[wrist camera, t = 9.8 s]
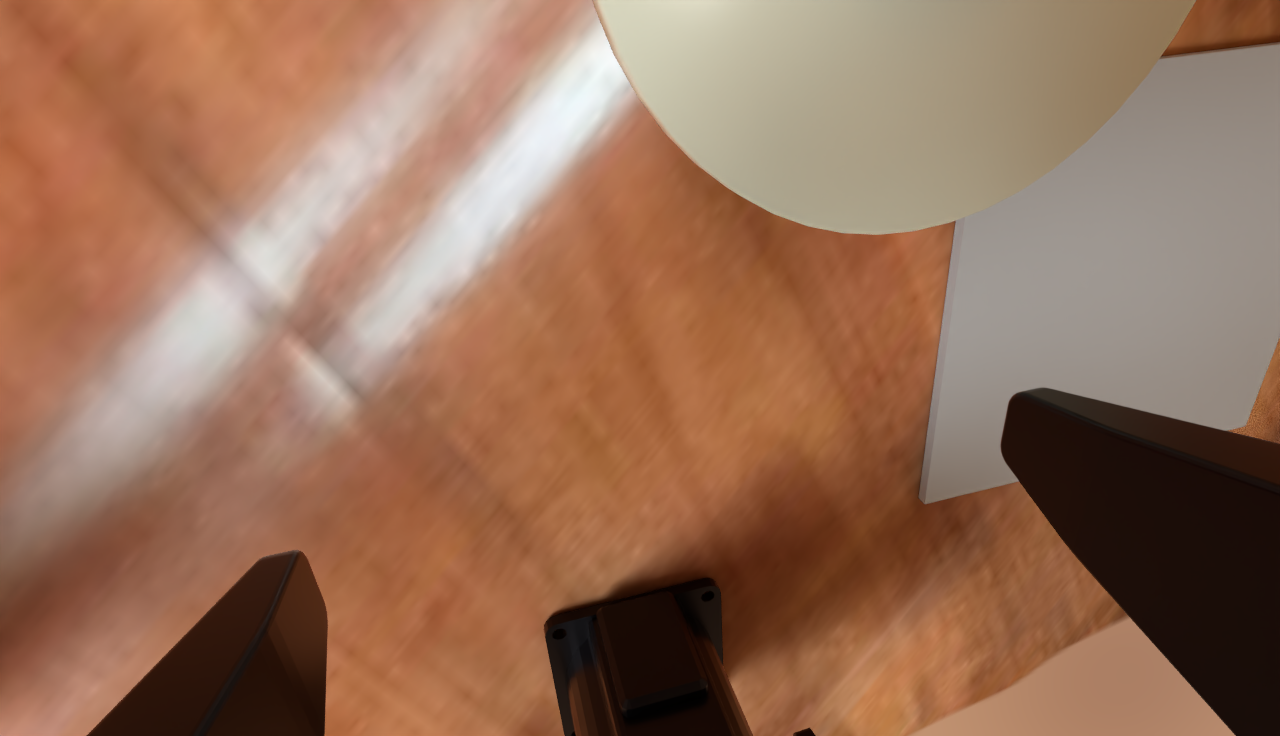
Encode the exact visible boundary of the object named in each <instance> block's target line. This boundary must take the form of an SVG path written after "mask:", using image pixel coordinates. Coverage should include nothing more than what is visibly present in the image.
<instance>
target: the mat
mask: <svg viewBox="0 0 1280 736" xmlns="http://www.w3.org/2000/svg"><path fill="white" fill-rule="evenodd" d="M1279 338H1280V42H1276V43H1268V44H1260V45H1252V46H1244V47H1235V48H1227V49H1219V50H1211V51H1203V52H1195V53H1187V54H1178V55H1170V56H1162V57H1160V58H1159V60H1158V61H1157V63H1156V64H1155V65H1154V67H1153V68H1152V70H1151V71H1150V72H1149V74H1148V75H1147V77H1146V78H1145V79H1144V80H1143V81H1142V83H1141V84H1140V85H1139V86H1138V87H1137V88H1136V90H1135V91H1134V92H1133V93H1132V94H1131V96H1130V97H1129V98H1128V99H1127V100H1126V101H1125V103H1124V104H1123V105H1122V106H1121V107H1120V109H1119V110H1118V111H1117V112H1116V113H1115V114H1114V115H1113V116H1112V117H1111V118H1110V119H1109V120H1108V121H1107V122H1106V123H1105V124H1104V125H1103V126H1102V127H1101V128H1100V129H1099V130H1098V131H1097V132H1096V133H1095V134H1094V135H1093V136H1092V137H1091V138H1090V139H1089V140H1088V141H1087V142H1086V143H1085V144H1083V145H1082V146H1081V147H1080V148H1078V149H1077V150H1076V151H1075V152H1074V153H1072V154H1071V155H1070V156H1069V157H1067V158H1066V159H1065V160H1064V161H1063V162H1061V163H1060V164H1059V165H1058V166H1057V167H1055V168H1054V169H1053V170H1051V171H1050V172H1048V173H1047V174H1045V175H1044V176H1042V177H1041V178H1039V179H1038V180H1036V181H1035V182H1033V183H1032V184H1030V185H1029V186H1027V187H1026V188H1024V189H1023V190H1021V191H1020V192H1018V193H1016V194H1014V195H1012V196H1010V197H1008V198H1006V199H1004V200H1002V201H1000V202H998V203H996V204H995V205H993V206H991V207H989V208H987V209H985V210H982V211H979V212H977V213H974V214H972V215H969V216H966V217H964V218H961V219H958V220H956V224H955V231H954V239H953V246H952V253H951V261H950V268H949V276H948V283H947V290H946V298H945V305H944V313H943V320H942V327H941V335H940V342H939V350H938V357H937V364H936V372H935V379H934V387H933V394H932V401H931V409H930V416H929V424H928V431H927V438H926V446H925V453H924V461H923V468H922V475H921V483H920V490H919V499H920V500H921V501H922V502H923V503H924V504H928V503H932V502H936V501H941V500H945V499H949V498H953V497H957V496H961V495H965V494H969V493H973V492H977V491H982V490H986V489H990V488H994V487H998V486H1002V485H1006V484H1010V483H1014V482H1018V481H1019V480H1018V479H1017V478H1016V476H1015V475H1014V474H1013V472H1012V471H1011V470H1010V468H1009V467H1008V466H1007V464H1006V463H1005V461H1004V459H1003V457H1002V453H1001V447H1000V444H1001V438H1002V432H1003V427H1004V422H1005V417H1006V412H1007V407H1008V403H1009V400H1010V399H1011V397H1012V396H1013V395H1014V394H1016V393H1018V392H1021V391H1026V390H1030V389H1035V388H1042V387H1045V388H1050V389H1055V390H1059V391H1063V392H1067V393H1071V394H1075V395H1079V396H1084V397H1088V398H1092V399H1096V400H1100V401H1104V402H1108V403H1113V404H1117V405H1121V406H1125V407H1129V408H1133V409H1137V410H1142V411H1146V412H1150V413H1154V414H1158V415H1162V416H1166V417H1171V418H1175V419H1179V420H1183V421H1187V422H1191V423H1196V424H1200V425H1204V426H1208V427H1212V428H1216V429H1220V430H1225V431H1227V430H1232V429H1236V428H1240V427H1244V426H1246V424H1247V421H1248V418H1249V416H1250V413H1251V411H1252V408H1253V405H1254V403H1255V400H1256V397H1257V395H1258V392H1259V390H1260V387H1261V384H1262V382H1263V379H1264V377H1265V374H1266V371H1267V369H1268V366H1269V364H1270V361H1271V358H1272V356H1273V353H1274V351H1275V348H1276V345H1277V343H1278V340H1279Z"/></svg>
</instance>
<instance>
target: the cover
mask: <svg viewBox="0 0 1280 736" xmlns="http://www.w3.org/2000/svg"><path fill="white" fill-rule="evenodd" d="M1195 2H1196V0H593V4H594V7H595V9H596V12H597V14H598V17H599V19H600V22H601V24H602V27H603V29H604V31H605V34H606V36H607V39H608V41H609V44H610V46H611V49H612V51H613V54H614V56H615V57H616V59H617V61H618V63H619V65H620V66H621V68H622V70H623V72H624V74H625V75H626V77H627V79H628V81H629V82H630V84H631V86H632V88H633V90H634V91H635V93H636V95H637V97H638V98H639V99H640V101H641V102H642V103H643V105H644V106H645V108H646V109H647V110H648V112H649V113H650V114H651V116H652V117H653V118H654V120H655V121H656V122H657V124H658V125H659V126H660V128H661V129H662V130H663V132H664V133H665V134H666V135H667V136H668V137H669V138H670V139H671V140H672V141H673V142H674V143H675V144H676V145H677V146H678V147H679V148H680V149H681V150H682V151H683V152H684V153H685V154H686V155H687V156H688V157H689V158H690V159H691V160H692V161H693V162H694V163H695V164H696V165H698V166H699V167H700V168H701V169H703V170H704V171H705V172H707V173H708V174H709V175H711V176H712V177H713V178H715V179H716V180H717V181H719V182H720V183H721V184H722V185H724V186H725V187H727V188H728V189H730V190H732V191H733V192H735V193H736V194H738V195H740V196H741V197H743V198H745V199H747V200H749V201H751V202H752V203H754V204H756V205H758V206H760V207H762V208H763V209H765V210H767V211H769V212H771V213H773V214H775V215H778V216H781V217H784V218H786V219H789V220H792V221H795V222H797V223H800V224H803V225H806V226H809V227H814V228H819V229H824V230H830V231H835V232H840V233H852V234H874V235H880V234H890V233H901V232H911V231H917V230H921V229H925V228H930V227H934V226H938V225H942V224H946V223H950V222H953V221H956V220H958V219H961V218H964V217H966V216H969V215H972V214H974V213H977V212H979V211H982V210H985V209H987V208H989V207H991V206H993V205H995V204H996V203H998V202H1000V201H1002V200H1004V199H1006V198H1008V197H1010V196H1012V195H1014V194H1016V193H1018V192H1020V191H1021V190H1023V189H1024V188H1026V187H1027V186H1029V185H1030V184H1032V183H1033V182H1035V181H1036V180H1038V179H1039V178H1041V177H1042V176H1044V175H1045V174H1047V173H1048V172H1050V171H1051V170H1053V169H1054V168H1055V167H1057V166H1058V165H1059V164H1060V163H1061V162H1063V161H1064V160H1065V159H1066V158H1067V157H1069V156H1070V155H1071V154H1072V153H1074V152H1075V151H1076V150H1077V149H1078V148H1080V147H1081V146H1082V145H1083V144H1085V143H1086V142H1087V141H1088V140H1089V139H1090V138H1091V137H1092V136H1093V135H1094V134H1095V133H1096V132H1097V131H1098V130H1099V129H1100V128H1101V127H1102V126H1103V125H1104V124H1105V123H1106V122H1107V121H1108V120H1109V119H1110V118H1111V117H1112V116H1113V115H1114V114H1115V113H1116V112H1117V111H1118V110H1119V109H1120V107H1121V106H1122V105H1123V104H1124V103H1125V101H1126V100H1127V99H1128V98H1129V97H1130V96H1131V94H1132V93H1133V92H1134V91H1135V90H1136V88H1137V87H1138V86H1139V85H1140V84H1141V83H1142V81H1143V80H1144V79H1145V78H1146V77H1147V75H1148V74H1149V72H1150V71H1151V70H1152V68H1153V67H1154V65H1155V64H1156V63H1157V61H1158V60H1159V58H1160V57H1161V56H1162V54H1163V53H1164V51H1165V50H1166V48H1167V47H1168V46H1169V44H1170V43H1171V41H1172V40H1173V39H1174V37H1175V36H1176V34H1177V32H1178V30H1179V29H1180V27H1181V25H1182V24H1183V22H1184V20H1185V19H1186V17H1187V15H1188V14H1189V12H1190V10H1191V9H1192V7H1193V5H1194V4H1195Z"/></svg>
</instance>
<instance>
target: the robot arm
mask: <svg viewBox="0 0 1280 736" xmlns="http://www.w3.org/2000/svg"><path fill="white" fill-rule="evenodd" d="M1000 447H1001V453H1002V457H1003V459H1004V461H1005V463H1006V464H1007V466H1008V467H1009V468H1010V470H1011V471H1012V472H1013V474H1014V475H1015V476H1016V478H1017V479H1018V480H1019V482H1020V483H1021V484H1022V486H1023V487H1024V488H1025V490H1026V491H1027V493H1028V494H1029V495H1030V497H1031V498H1032V499H1033V501H1034V502H1035V503H1036V505H1037V506H1038V507H1039V509H1040V510H1041V511H1042V513H1043V514H1044V516H1045V517H1046V518H1047V520H1048V521H1049V522H1050V524H1051V525H1052V526H1053V528H1054V529H1055V530H1056V532H1057V533H1058V534H1059V536H1060V537H1061V538H1062V540H1063V541H1064V542H1065V544H1066V545H1067V546H1068V547H1069V549H1070V550H1071V551H1072V553H1073V554H1074V555H1075V556H1076V557H1077V558H1078V560H1079V561H1080V562H1081V563H1082V564H1083V565H1084V567H1085V568H1086V569H1087V570H1088V571H1089V572H1090V573H1091V574H1092V576H1093V577H1094V578H1095V579H1096V580H1097V581H1098V582H1099V583H1100V585H1101V586H1102V587H1103V588H1104V589H1105V590H1106V591H1107V592H1108V593H1109V595H1110V596H1111V597H1112V598H1113V599H1114V600H1115V601H1116V602H1117V604H1118V605H1119V606H1120V607H1121V608H1122V609H1123V610H1124V611H1125V612H1126V614H1127V615H1128V616H1129V617H1130V618H1131V619H1132V620H1133V621H1134V622H1135V624H1136V625H1137V626H1138V627H1139V628H1140V629H1141V630H1142V631H1143V632H1144V634H1145V635H1146V636H1147V637H1148V638H1149V639H1150V640H1151V641H1152V643H1153V644H1154V645H1155V646H1156V647H1157V648H1158V649H1159V650H1160V652H1161V653H1162V654H1163V655H1164V656H1165V657H1166V658H1167V659H1168V660H1169V662H1170V663H1171V664H1172V665H1173V666H1174V667H1175V668H1176V669H1177V671H1179V673H1180V674H1181V675H1182V676H1183V677H1184V678H1185V679H1186V681H1187V682H1188V683H1189V684H1190V685H1191V686H1192V687H1193V688H1194V690H1195V691H1196V692H1197V693H1198V694H1199V695H1200V696H1201V697H1202V699H1203V700H1204V701H1205V702H1206V703H1207V704H1208V705H1209V706H1210V707H1211V709H1213V711H1214V712H1215V713H1216V714H1217V715H1218V716H1219V717H1220V719H1221V720H1222V721H1223V722H1224V723H1225V724H1226V725H1227V726H1228V728H1229V729H1230V730H1231V731H1232V732H1233V733H1234V734H1235V735H1236V736H1280V444H1278V443H1274V442H1270V441H1266V440H1262V439H1258V438H1254V437H1249V436H1245V435H1241V434H1237V433H1233V432H1229V431H1225V430H1220V429H1216V428H1212V427H1208V426H1204V425H1200V424H1196V423H1191V422H1187V421H1183V420H1179V419H1175V418H1171V417H1166V416H1162V415H1158V414H1154V413H1150V412H1146V411H1142V410H1137V409H1133V408H1129V407H1125V406H1121V405H1117V404H1113V403H1108V402H1104V401H1100V400H1096V399H1092V398H1088V397H1084V396H1079V395H1075V394H1071V393H1067V392H1063V391H1059V390H1055V389H1050V388H1045V387H1042V388H1035V389H1030V390H1026V391H1021V392H1018V393H1016V394H1014V395H1013V396H1012V397H1011V399H1010V400H1009V403H1008V407H1007V412H1006V417H1005V422H1004V427H1003V432H1002V438H1001V444H1000ZM707 591H709V592H707ZM705 592H707V593H705ZM704 593H705V594H704ZM327 629H328V621H327V611H326V606H325V603H324V600H323V597H322V595H321V592H320V590H319V587H318V585H317V582H316V579H315V577H314V574H313V572H312V569H311V567H310V564H309V562H308V559H307V557H306V556H305V555H304V553H303V552H301V551H299V550H292V551H288V552H283V553H278V554H274V555H269V556H265V557H263V558H261V559H259V560H258V561H257V562H256V563H255V564H254V565H253V566H252V567H251V568H250V569H249V570H248V571H247V572H246V573H245V574H244V575H243V576H242V577H241V578H240V579H239V580H238V581H237V582H236V583H235V584H234V585H233V586H232V587H231V589H230V590H229V591H228V592H227V593H226V594H225V595H224V596H223V597H222V598H221V599H220V600H219V601H218V602H217V603H216V604H215V605H214V606H213V607H212V608H211V609H210V610H209V611H208V612H207V613H206V614H205V615H204V616H203V617H202V618H201V619H200V620H199V621H198V622H197V623H196V624H195V625H194V626H193V627H192V628H191V629H190V630H189V631H188V633H187V634H186V635H185V636H184V637H183V638H182V639H181V640H180V641H179V642H178V643H177V644H176V645H175V646H174V647H173V648H172V649H171V650H170V651H169V652H168V653H167V654H166V655H165V656H164V657H163V658H162V659H161V660H160V661H159V662H158V663H157V664H156V665H155V666H154V667H153V668H152V669H151V670H150V671H149V672H148V673H147V674H146V675H145V676H144V678H143V679H142V680H141V681H140V682H139V683H138V684H137V685H136V686H135V687H134V688H133V689H132V690H131V691H130V692H129V693H128V694H127V695H126V696H125V697H124V698H123V699H122V700H121V701H120V702H119V703H118V704H117V705H116V706H115V707H114V708H113V709H112V710H111V711H110V712H109V713H108V714H107V715H106V716H105V717H104V718H103V719H102V720H101V722H100V723H99V724H98V725H97V726H96V727H95V728H94V729H93V730H92V731H91V732H90V733H89V734H88V735H87V736H324V734H325V700H326V664H327ZM557 629H561V630H559V631H555V630H557ZM544 633H545V638H546V643H547V649H548V654H549V659H550V664H551V669H552V674H553V679H554V684H555V689H556V694H557V699H558V704H559V709H560V714H561V719H562V725H563V730H564V735H565V736H753V734H752V732H751V730H750V727H749V725H748V723H747V720H746V718H745V716H744V714H743V711H742V709H741V707H740V704H739V702H738V700H737V697H736V695H735V693H734V691H733V688H732V686H731V684H730V681H729V679H728V677H727V674H726V672H725V670H724V668H723V648H722V616H721V592H720V589H719V587H718V585H717V583H716V581H714V580H713V579H710V578H706V579H700V580H696V581H692V582H688V583H684V584H680V585H676V586H672V587H668V588H664V589H660V590H656V591H652V592H648V593H644V594H640V595H636V596H632V597H628V598H624V599H620V600H616V601H612V602H608V603H604V604H600V605H596V606H592V607H588V608H584V609H580V610H576V611H572V612H568V613H564V614H560V615H556V616H554V617H551V618H550V619H548V620H547V621H546V623H545V624H544ZM793 736H815V734H814V733H813V731H812V730H811V729H810V728H807V729H804V730H801V731H798V732H795V733H794V734H793Z"/></svg>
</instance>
